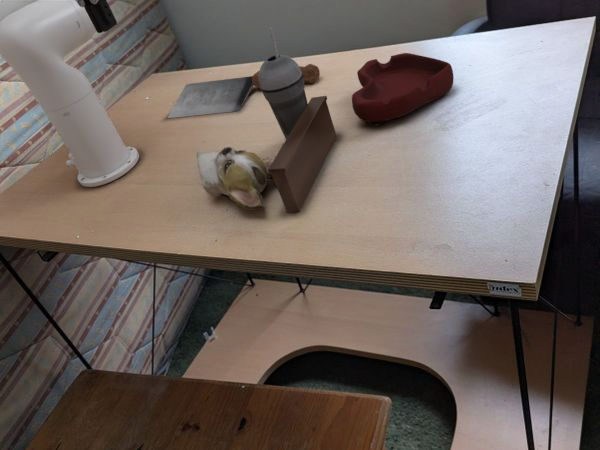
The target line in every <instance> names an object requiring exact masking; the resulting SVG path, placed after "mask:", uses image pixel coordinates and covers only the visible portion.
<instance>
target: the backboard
mask: <svg viewBox="0 0 600 450" xmlns="http://www.w3.org/2000/svg"><path fill="white" fill-rule="evenodd" d="M327 100H328V97H327V95H322V96H314V97H311V98H310V100H309V101H308V102H307V103H308V105H307V106H306V108H305V109H304V111H303V113H302V114H301V116H300V118H299V119H298V121H297V123H296V124H295V126H294V128H293V129H292V131H291V133H290V134H289V136H288V137H287V139H285V141H284V143H283V144H282V146H281V147H280V149H279V151H278V152H277V153H276V155H275V157H274V159H273V160H274V161H273V162H272V164H271V165H270V167H269V169H268V171H269V173H272V176H273V178H274V180H273V181H274V183H275V186H276V188H277V191H278V193H279V196H280V199H281V201H282V204H283V207H284V208H285V211H286V213H300V212H301V210H302V208H303V206H304V204H305V202H306V200H307V198H308V196H309V194H310V192H311V189H312V188H313V185H314V184H315V182H316V179H317V178H318V176H319V173H320V171H321V169H322V167H323V165H324V163H325V161H326V159H327V157H328V155H329V154H330V151H331V149H332V148H333V145H334V143H335V141H336V140H337V137H338V136H337V133H336V129H335V126H334V123H333V120H332V116H331V112H330V109H329V106H328V102H327Z"/></svg>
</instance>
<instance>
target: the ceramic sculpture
mask: <svg viewBox="0 0 600 450" xmlns="http://www.w3.org/2000/svg"><path fill="white" fill-rule="evenodd" d="M196 160H197V167H198V172H199V177H200V180H201V186H202V187H203V189H204V191H205V192H206V193H207V194H208V195H210V196H212V197H220V196H222V195H226V196H228V197H229V199H230V201H232V202H233V203H234V204H236V205H237V206H239V207H240V208H242V209H243V210H250V211H251V210H253V211H254V210H259V209H260V210H261V209H263V208H265V205H264V202H263V201H264V200H263V196H262V194H261V192H263V191H264V189H265V187H266V186H267V183H268V180H269V181H274V178H273V176H272V173H269V171H268V169H269V167H270V165H271V164H272V162H273V161H274V159H271V158H269V157H267V158H261V157H260V156H259V155H257V154H256V153H255V152H252V151H247V150H246V149H245V150H244V149H243V150H236V149H235V148H234V147H230V146H227V147H224V148H222V150H220V151H219V152H218V151H214V150H212V151H205V152H203V151H198V152H196Z"/></svg>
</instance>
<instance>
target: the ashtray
mask: <svg viewBox="0 0 600 450" xmlns="http://www.w3.org/2000/svg"><path fill="white" fill-rule="evenodd" d="M356 74H357V79H358V81H359V84H360V86H361V88H360V89H358V90H357V91H355V92H354V93H353V94H352V95H351V106H352V109H353V112H354V114H355V116H356V117H357V118H358V119H360V120H361V121H363V122H364V121H365V122H369V124H370V125H371V126H379V125H382V124H384V123H386V122H387V121H390V120H394V119H399V118H400V117H403V116H406V115H407V114H409V113H411V112H412V111H414V110H416V109H417V108H420V107H422V106H425V105H426V104H428V103H430V102H433V101H435V100H437V99H439V98H440V99H441V98H442V97H444V96H446V95H447V93H449V92H450V91H451V89H452V88H453V85H454V78H455V77H454V76H455V75H454V71H453V67H452V65H451V63H449V62H448V61H444V60H442V59H438V58H433V57H429V56H425V55H419V54H415V53H409V52H402V53H398V54H394V55H391V56H390V58H389V60H388V61H387V62H385V63H382V62H380V61H379V60H378V59H377V58H375V59H370V60H368V61H366V62H365V63H364V65H363V66H362V67H360V68H359V69H358V70H357V72H356Z"/></svg>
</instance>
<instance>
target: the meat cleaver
mask: <svg viewBox="0 0 600 450" xmlns="http://www.w3.org/2000/svg"><path fill="white" fill-rule="evenodd" d="M298 66H299V67H300V70H301V71H302V73H303V75H304V76H303V79H304V83H305V82H308V83H314V82H316V81H317V80H318V79H319V78H320V76H321V75H320V73H321V72H320V68H319V66H317V65H315V64H312V63H308V64H307V65H305V66H302V65H301V66H300V65H298ZM259 71H260V70H258V71H257V72H255V73H254V74H253V75H250V76H243V77H242V76H241V77H235V78H225V79H218V80H217V79H216V80H209V81H201V82H193V83H187V84H185V85H184V87H183V89H182V91H181V92H180V94H179V96H178V98H177V100H176V102H175V104H174V105H173V107H172V109H171V111H170V112H169V114H168V116H167V119H174V118H184V117H185V118H186V117H195V116H202V115H213V114H222V113H223V114H224V113H231V112H240V111H241V109H242V107H243V105H244V103H245V102H246V100H247V98H248V96H249V94H250V93H251V91H252V89H253V88H254V87H255V88H258V89H260V84H259Z"/></svg>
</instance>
